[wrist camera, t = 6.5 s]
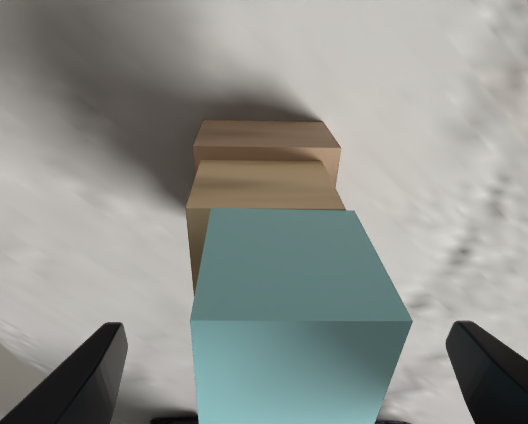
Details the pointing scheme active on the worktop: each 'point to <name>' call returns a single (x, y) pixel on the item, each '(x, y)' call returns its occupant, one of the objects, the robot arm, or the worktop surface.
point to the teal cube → (293, 319)
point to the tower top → (254, 193)
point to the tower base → (267, 142)
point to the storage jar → (391, 422)
